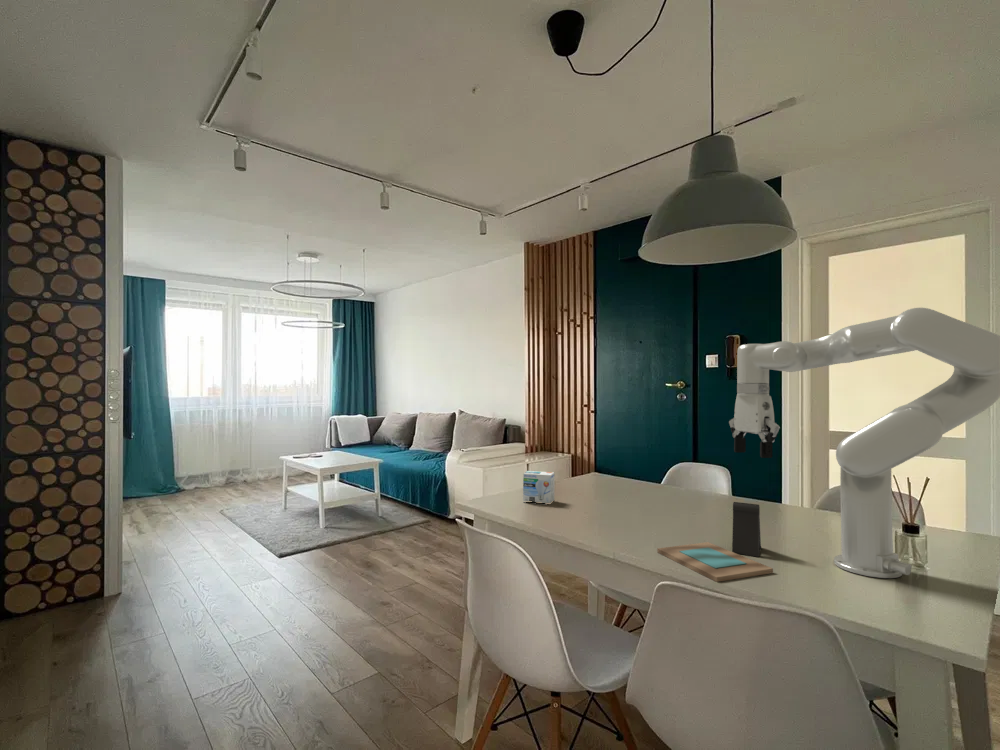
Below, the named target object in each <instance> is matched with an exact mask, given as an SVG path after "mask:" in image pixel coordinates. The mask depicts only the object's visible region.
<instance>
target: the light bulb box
mask: <svg viewBox="0 0 1000 750" xmlns="http://www.w3.org/2000/svg"><path fill="white" fill-rule="evenodd" d="M522 475H523V476H522V477H523V478H522V480H523V481H522V482H523V483H522V484H523V486H522V494H523V495H522V502H523V501H532V502H542V503H551V502H552V501H554V502H555V472H554V471H536V470H534V471H533V470H526V471H525V472H523V474H522Z"/></svg>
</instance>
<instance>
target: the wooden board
mask: <svg viewBox="0 0 1000 750" xmlns="http://www.w3.org/2000/svg"><path fill="white" fill-rule="evenodd" d="M657 553H658V554H660V555H662V556H664V557H666V558H668V559H670V560H672V561H674V562H676V563H677V564H680V565H682V566H684V567H686V568H688V569H689V570H692V571H694V572H695V573H698V574H700V575H702V576H704V577H706V578H708V579H710V580H712V581H714V582H715V583H718V582H724V581H731V580H738V579H743V578H749V577H750V578H751V577H757V576H763V575H767V574H770V575H771V574H774V568H773V567H770V566H768V565H766V564H763V563H761V562H758V561H756V560H753V559H750V558H749V557H746V556H744V555H742V554H736V553H734V552H732V550H728V549H726V548H724V547H721V546H718V545H716V544H714V543H711V542H709V541H706V542H705V541H704V542H699V543H698V542H697V543H689V544H682V545H675V546H666V547H658V548H657Z"/></svg>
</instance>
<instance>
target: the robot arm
mask: <svg viewBox="0 0 1000 750" xmlns="http://www.w3.org/2000/svg"><path fill="white" fill-rule="evenodd" d="M915 351H918V352H920V353H922V354H924V355H926V356H929V357H932V358H934V359H935V360H938V361H941V362H943V363H945V364H948V365H950V366H953V372H952V375H950V376H949V378H948V379H947V380H946V381H944V382H943V383H941V384H938V385H937V386H935V387H934V388H933V389H931V390H929V391H928V392H926V393H924V394H923V395H921V396H920V397H918V398H916V399H914V400H912V401H910V402H908V403H906V404H904V405H900V406H898V407H895V408H894V409H893V410H891V411H890V412H888V413H887V414H885V415H882V416H881V417H880V418H878V419H876V420H874V421H873V422H871V423H869V424H867V425H866V426H864V427H862V428H860V429H859V430H857V431H855V432H851V433H850V434H848V435H846V436H845V437H844V438H843V439H842V440H841V441H840V442H839V443H838V445H837V447H836V449H835V450H836V451H835V457H836V458H835V459H836V461H837V463H838V466H839V467H840V473H839V474H840V476H839V477H840V483H839V484H840V485H839V486H840V487H839V488H840V532H841V533H840V537H841V538H840V540H841V543H840V544H841V554H838V555H835V556H834V557H833V563H834V564H835V565H836V566H837V567H838V568H840V569H841V570H845V571H847V572H850V573H854V574H856V575H861V576H865V577H866V576H867V577H871V578H879V579H895V578H900V577H902V576H903V575H905V576H909V575H911V572H912V564H911V563H907V562H904V561H900V559H899V553H895V552H894V545H893V541H894V540H893V508H892V505H893V493H892V492H893V491H892V487H893V486H892V469H893V468H895V467H898V466H900V465H901V464H904V463H905V462H907V461H909V460H912V459H913V458H916V457H917V456H919V455H921V454H923V453H924V452H926V451H928V450H930V449H932V448H933V447H934V446H936V445H937V444H938V443H939V442H940V440H941V439H942V437H943V435H944V434H946V433H948V432H950V431H952V430H953V429H956V428H957V427H959V426H961V425H962V424H965V423H966V422H968V421H969V420H971V419H973V418H975V417H976V416H978V415H979V414H982V412H983V413H984V412H985V411H986V410H987V409H989V408H991V406H993V405H994V404H995V403H996V402H997V401H998V400H999V399H1000V335H999V334H997V333H994V332H992V331H989V330H987V329H984V328H981V327H978V326H976V325H973V324H971V323H968V322H966V321H962V320H960V319H957V318H955V317H952V316H950V315H947V314H944V313H942V312H940V311H937V310H934V309H931V308H927V307H914V308H910V309H907V310H904V311H902V312H901V313H900V314H898V315H894V316H889V317H885V318H881V319H877V320H876V319H875V320H872V321H868V322H861V323H858V324H857V323H856V324H853V325H852V324H851V325H848V326H845V327H842V328H840V329H839V330H836V331H835V332H833V333H831V334H829V335H828V334H827V335H826V336H821V337H819V338H818V337H817V338H814V339H809V340H804V341H799V342H794V343H793V342H792V341H787V340H786V341H783V340H782V341H776V342H770V343H747V344H746V343H744V344H741V345H739V346H738V348H737V353H736V354H737V356H736V358H737V360H736V361H737V362H736V363H737V365H736V366H737V367H736V369H737V370H736V373H737V374H736V375H737V376H736V379H737V380H736V381H737V382H736V383H737V384H736V393H737V394H736V397H735V398H736V399H735V403H734V415H733V416H734V417H733V418H731V419H729V421H728V424H729V426H730V431H731V433H732V437H733V439H734V441H733V451H734V453H737V454H738V453H746V447H747V446H746V445H747V444H746V442H747V439H746V437H745V436H746V434H747V433H748V434H755V435H758V436H759V438H760V439H761V441H760V442H759V457H760V458H762V459H772V458H773V443H774V442H775V439H776V438H778V434H779V430H780V429H781V427H780V425H779V424H777V422H775V411H774V405H773V404H774V403H773V400H772V396H771V395H770V370H773V371H779V372H786V373H794V372H800V371H806V370H812V369H817V368H823V367H827V366H829V367H830V366H832V365H834V366H835V365H839V364H848V363H849V364H850V363H854V362H857V361H858V362H859V361H864V360H869V359H874V358H880V357H885V356H891V355H899V354H904V353H910V352H915Z"/></svg>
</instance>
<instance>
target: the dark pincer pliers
mask: <svg viewBox="0 0 1000 750" xmlns="http://www.w3.org/2000/svg"><path fill="white" fill-rule="evenodd" d="M760 511H761V508H760V504H757V503H746V502H741V501H740V502H738V501H733V502H732V536H731V537H732V539H731V540H732V543H731V544H732V545H731V552H734V553H736V554H739V555H741V556H749V557H750V556H751V557H756V558H759V557H760V552H761V549H762V543H761V542H762V541H761V520H760V518H761V517H760V515H761V513H760Z"/></svg>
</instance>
